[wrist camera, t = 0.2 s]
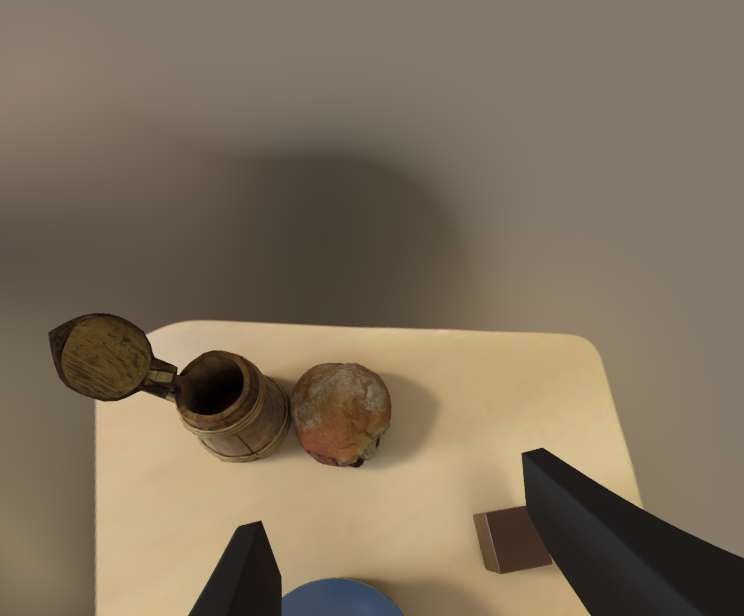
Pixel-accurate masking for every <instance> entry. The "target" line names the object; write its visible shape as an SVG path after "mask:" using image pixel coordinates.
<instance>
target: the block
mask: <svg viewBox="0 0 744 616" xmlns="http://www.w3.org/2000/svg"><path fill="white" fill-rule="evenodd" d="M473 518H474V522H475V526H476V530H477V535H478V539H479V543H480V547H481V551H482V555H483V559H484V563H485V568H486V570H489V571H492V572H496V573H499V574H505V573H510V572H515V571H520V570H525V569H531V568H536V567H541V566H546V565H551V564H552V560H551V557H550V553H549V552H548V550H547V549H546V547H545V545H544V543H543V542H542V540H541V538H540V536H539V534H538V532H537V530H536V528H535V526H534V524H533V522H532V521H531V519H530V517H529V515H528V513H527V509H526V506H520V507H514V508H509V509H503V510H498V511H492V512H486V513H481V514H475V515H473Z"/></svg>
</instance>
